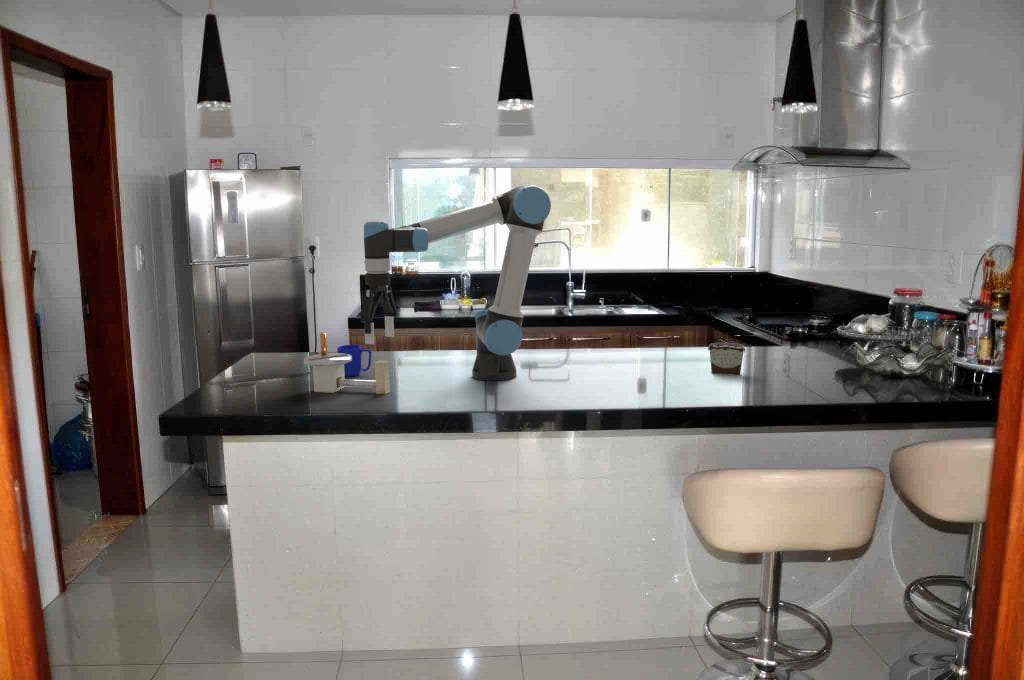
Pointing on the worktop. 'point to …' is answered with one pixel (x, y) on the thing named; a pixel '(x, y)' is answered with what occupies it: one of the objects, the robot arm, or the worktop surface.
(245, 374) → the worktop surface
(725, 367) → the food container
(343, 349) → the mug
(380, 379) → the hook rod
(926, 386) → the worktop surface
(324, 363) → the handwheel
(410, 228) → the robot arm
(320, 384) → the eye block
